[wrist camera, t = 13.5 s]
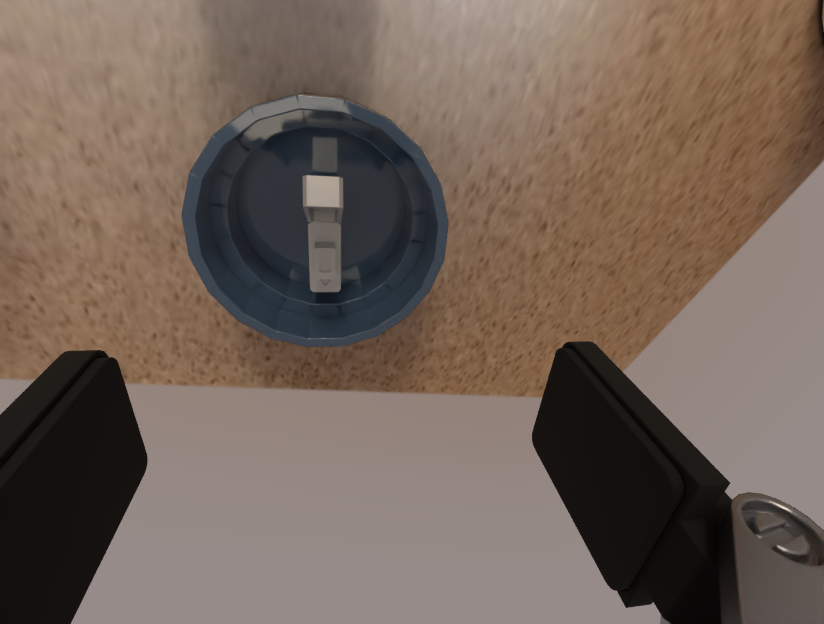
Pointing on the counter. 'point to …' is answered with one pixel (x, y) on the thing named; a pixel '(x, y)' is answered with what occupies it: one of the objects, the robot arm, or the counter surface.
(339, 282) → the lighter
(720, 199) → the counter surface
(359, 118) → the bowl
